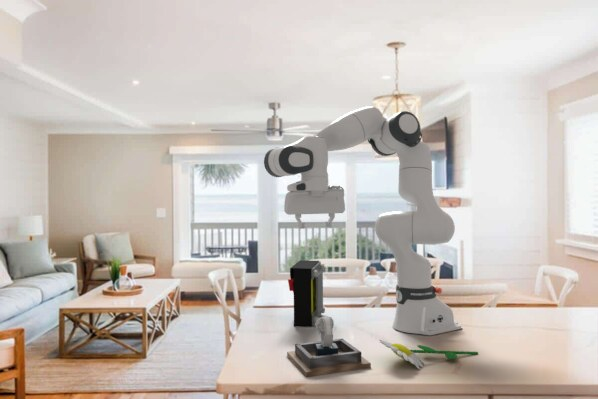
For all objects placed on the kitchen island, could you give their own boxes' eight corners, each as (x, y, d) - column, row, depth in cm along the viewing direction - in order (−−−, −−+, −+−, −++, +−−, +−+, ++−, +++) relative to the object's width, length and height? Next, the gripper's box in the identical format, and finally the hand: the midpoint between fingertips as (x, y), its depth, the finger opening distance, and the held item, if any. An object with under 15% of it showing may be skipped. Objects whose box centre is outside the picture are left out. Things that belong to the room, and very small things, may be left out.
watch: (334, 351, 137) (333, 312, 136) (339, 362, 129) (339, 320, 128) (314, 352, 136) (313, 313, 136) (318, 363, 128) (318, 321, 128)
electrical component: (318, 327, 165) (317, 268, 164) (288, 326, 167) (287, 268, 166) (325, 314, 182) (325, 260, 181) (298, 313, 184) (298, 260, 183)
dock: (345, 348, 143) (345, 336, 143) (370, 367, 128) (370, 353, 128) (287, 356, 137) (286, 343, 137) (306, 376, 122) (305, 362, 122)
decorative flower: (462, 354, 143) (369, 351, 135) (464, 338, 143) (372, 334, 135) (490, 372, 131) (390, 371, 123) (493, 355, 131) (393, 352, 122)
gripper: (340, 185, 165) (340, 226, 166) (282, 185, 159) (283, 228, 159) (347, 185, 159) (348, 227, 160) (288, 185, 153) (288, 229, 153)
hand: (315, 227), depth 159 cm, fingers open, 8 cm apart
